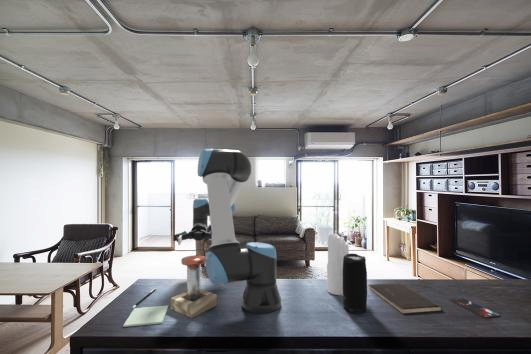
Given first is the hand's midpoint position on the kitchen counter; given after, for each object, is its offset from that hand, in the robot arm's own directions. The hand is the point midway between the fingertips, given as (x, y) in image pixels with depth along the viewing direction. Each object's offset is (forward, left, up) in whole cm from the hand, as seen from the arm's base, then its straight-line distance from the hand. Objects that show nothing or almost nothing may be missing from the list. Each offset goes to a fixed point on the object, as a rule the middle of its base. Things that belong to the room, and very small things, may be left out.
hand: (195, 240), depth 111 cm
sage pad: (+1, +21, -23) cm, 31 cm away
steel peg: (-7, +7, -23) cm, 25 cm away
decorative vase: (-47, -39, -23) cm, 65 cm away
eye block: (-7, +7, -23) cm, 25 cm away
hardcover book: (-71, -45, -24) cm, 87 cm away
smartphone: (-94, -51, -23) cm, 109 cm away
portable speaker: (-58, -25, -23) cm, 67 cm away
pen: (+16, +12, -23) cm, 31 cm away
